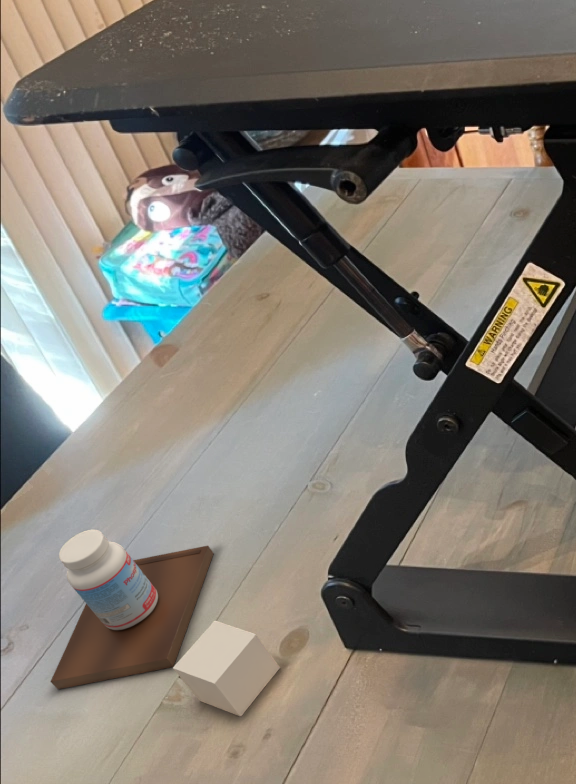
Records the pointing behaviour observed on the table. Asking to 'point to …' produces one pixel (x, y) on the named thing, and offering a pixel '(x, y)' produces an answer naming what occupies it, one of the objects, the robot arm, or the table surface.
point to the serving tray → (138, 625)
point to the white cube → (227, 667)
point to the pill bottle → (108, 580)
